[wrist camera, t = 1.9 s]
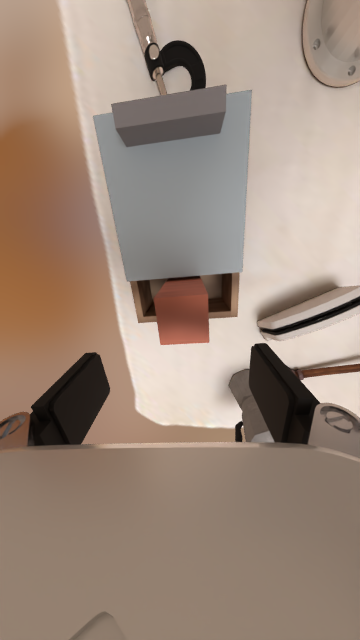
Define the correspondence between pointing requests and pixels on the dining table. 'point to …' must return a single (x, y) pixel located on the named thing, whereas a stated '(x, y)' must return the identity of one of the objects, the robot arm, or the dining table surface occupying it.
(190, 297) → the peg
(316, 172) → the dining table surface
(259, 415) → the coffeepot
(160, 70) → the micrometer
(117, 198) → the lid
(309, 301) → the white curved piece
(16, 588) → the robot arm
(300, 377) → the hammer
